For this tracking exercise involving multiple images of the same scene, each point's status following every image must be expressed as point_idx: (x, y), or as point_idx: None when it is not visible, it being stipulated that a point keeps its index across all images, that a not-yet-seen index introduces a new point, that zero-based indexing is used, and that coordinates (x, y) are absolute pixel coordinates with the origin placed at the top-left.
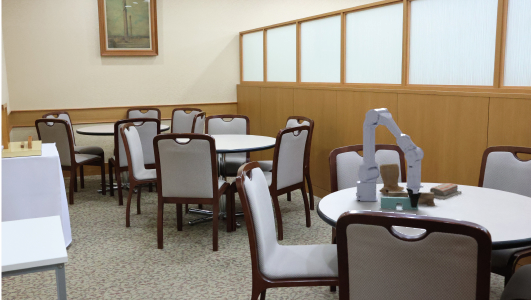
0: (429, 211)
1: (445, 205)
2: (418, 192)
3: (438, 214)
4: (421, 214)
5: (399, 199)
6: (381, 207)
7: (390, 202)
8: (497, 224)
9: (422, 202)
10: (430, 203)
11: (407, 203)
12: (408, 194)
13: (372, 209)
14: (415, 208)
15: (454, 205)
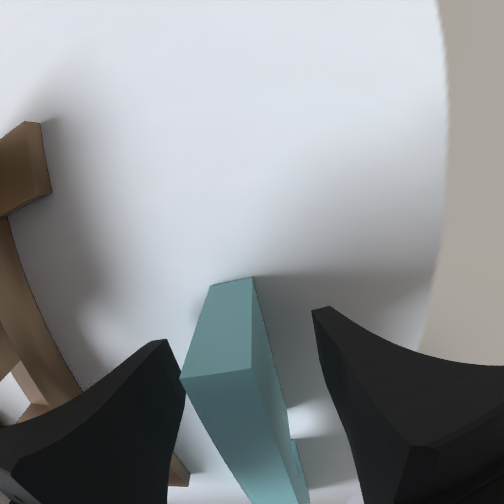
0: (295, 132)
1: (14, 51)
2: (446, 479)
3: (385, 42)
4: (439, 218)
5: (299, 499)
6: (308, 493)
7: (306, 502)
8: None
9: (9, 261)
10: (25, 169)
11: (281, 421)
12: (166, 495)
13: (336, 500)
14: (259, 311)
15: (14, 4)
